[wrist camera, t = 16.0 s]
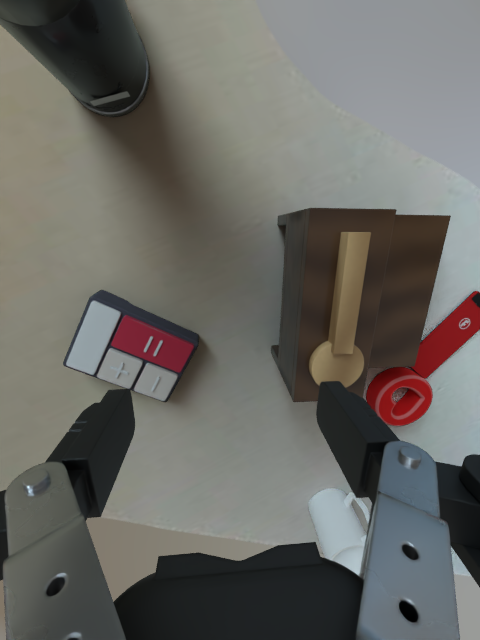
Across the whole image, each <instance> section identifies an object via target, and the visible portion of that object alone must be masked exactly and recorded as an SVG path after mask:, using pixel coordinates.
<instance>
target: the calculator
mask: <svg viewBox="0 0 480 640" xmlns="http://www.w3.org/2000/svg"><path fill="white" fill-rule="evenodd" d="M198 343H199V336H198V334H196V333H194V332H192V331H189V330H187V329H185V328H183V327H180V326H178V325H176V324H174V323H172V322H169V321H167V320H165V319H163V318H160V317H158V316H156V315H154V314H151V313H149V312H147V311H145V310H143V309H140V308H138V307H136V306H134V305H132V304H130V303H129V302H128V301H126V300H124V299H122V298H120V297H117V296H115V295H113V294H111V293H109V292H106V291H104V290H100V291H99V292H97V293H96V294H94V295H92V296H91V297H90V298H89V301H88V303H87V305H86V308H85V310H84V313H83V315H82V318H81V320H80V323H79V325H78V328H77V330H76V332H75V335H74V337H73V340H72V342H71V345H70V347H69V350H68V352H67V355H66V357H65V359H64V362H63V365H64V366H66V367H68V368H71V369H74V370H77V371H79V372H82V373H85V374H88V375H90V376H93V377H96V378H99V379H102V380H104V381H107V382H110V383H113V384H115V385H118V386H121V387H124V388H127V389H129V390H132V391H135V392H138V393H141V394H143V395H146V396H149V397H152V398H154V399H157V400H160V401H163V402H167V401H168V400H169V398H170V396H171V394H172V392H173V391H174V389H175V387H176V385H177V383H178V381H179V380H180V378H181V376H182V374H183V372H184V370H185V369H186V367H187V365H188V363H189V361H190V359H191V358H192V356H193V354H194V352H195V350H196V348H197V347H198Z"/></svg>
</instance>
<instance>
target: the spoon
mask: <svg viewBox="0 0 480 640" xmlns="http://www.w3.org/2000/svg"><path fill="white" fill-rule="evenodd" d="M370 236H371V232H341V237H340V245H339V254H338V262H337V270H336V279H335V287H334V295H333V304H332V312H331V320H330V329H329V337H328V341H326V342H324V343H322V344H321V345H319V346H318V347H317V348H316V349H315V350H314V352H313V353H312V355H311V357H310V360H309V371H310V374H311V376H312V378H313V379H314V381H315V382H316V383H317V384H318V385H319V386H320V383H321V382H323V381H340V382H341V383H342V384H343V385H344V387H345V388H346V387H348V386H350V385H352V384H353V383H354V382H355V381H356V380H357V379H358V378H359V376H360V375H361V373H362V371H363V367H364V357H363V354H362V352H361V351H360V349H359V348H358V347H357V346H355V345H354V340H355V334H356V327H357V321H358V314H359V307H360V301H361V294H362V288H363V281H364V275H365V268H366V262H367V255H368V249H369V242H370Z"/></svg>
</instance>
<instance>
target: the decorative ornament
mask: <svg viewBox="0 0 480 640" xmlns="http://www.w3.org/2000/svg"><path fill="white" fill-rule="evenodd" d="M402 387H406V388H409V390H408V391H407V392H406V394H405V395H404V396H403V397H402V398H401V399H400V400H399V401H398V402H397V403H396V402H395V401H394V400H393V399H392V395H393V393H394V392H395V391H396V390H397V389H399V388H402ZM432 397H433V394H432V389H431V386H430V384H429V383H428V382H427V381H426V380H425V379H424V378H422V377H421V376H419V375H418V374H417V373H415V372H414V371H412V370H411V369H408V368H405V367H394V368H390V369H387V370H385V371H383V372H381V373H380V374H379V375H377V376H376V377H375V378H374V379H373V380H372V382H371V383H370V385H369V387H368V390H367V394H366V400H367V403H368V404H369V405H370V407H371V409H373V410H374V411H375V412H376V413H377V415H378V416H379V417H380V418H381V419H382V420H383V421H384V423H386V424H389V425H393V426H403V425H407V424H410V423H412V422H414V421H416V420H417V419H419V418H420V417H421V416H423V415H424V413H425V412H426V411H427V410H428V408H429V406H430V404H431V402H432Z"/></svg>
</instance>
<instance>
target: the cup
mask: <svg viewBox="0 0 480 640" xmlns="http://www.w3.org/2000/svg"><path fill="white" fill-rule="evenodd" d="M353 498H354V499H355V500H356V502H357V503H358V504H359V506H360V507H361V509H362V510H363V512H364V515H365V517H366V520H367V523H368V522H369V517H370V514H369V511H368V509H367V507H366V506H365V504H364V503H363V502H362V500H361V499H360V498H356V496H355V495H354V493H353V492H350V493H349V494H348V496H347V495H346V493H345V492H343V491H342V490H340V489H335V488H330V489H325V490H322V491H320V492H318V493H316V494H315V495H314V496H313V497H312V498H311V500H310V501H309V504H308V509H309V512H310V515H311V518H312V521H313V524H314V527H315V530H316V533H317V536H318V539H319V542H320V545H321V548H322V551H323V554H324V557H325V558H326V559H329V560H332V561H335V562H337V563H339V564H341V565H343V566H345V567H346V568H348V569H350V570H351V571H353V572H354V573H356V574H357V575H358V576H359V573H360V568H361V562H362V557H363V551H364V545H365V540H366V533H365V531H364V529H363V527H362V525H361V523H360V521H359V519H358V517H357V515H356V513H355V511H354V509H353V507H352V505H351V502H352V500H353Z"/></svg>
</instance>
